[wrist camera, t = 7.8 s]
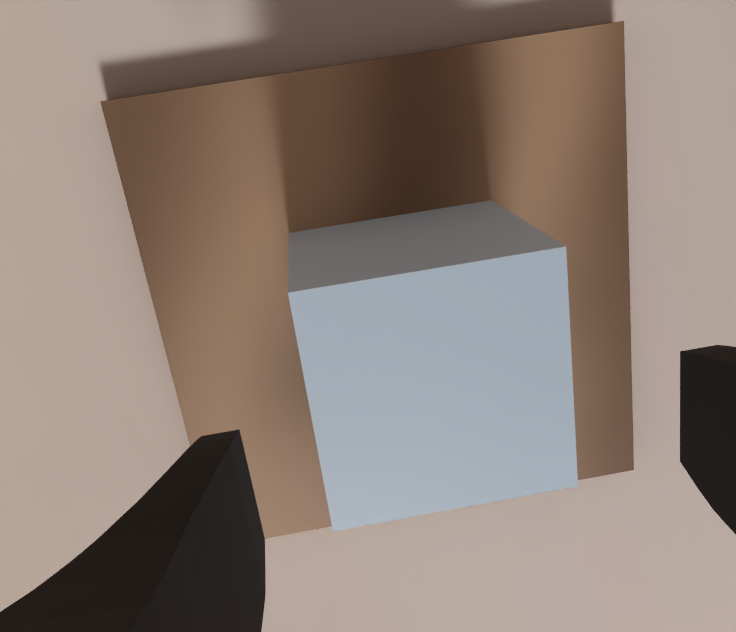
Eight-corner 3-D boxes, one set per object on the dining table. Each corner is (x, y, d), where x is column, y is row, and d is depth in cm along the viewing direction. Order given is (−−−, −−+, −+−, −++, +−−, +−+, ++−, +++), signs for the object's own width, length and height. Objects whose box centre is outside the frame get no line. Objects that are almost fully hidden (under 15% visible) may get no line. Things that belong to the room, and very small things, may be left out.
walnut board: (612, 22, 17) (623, 20, 16) (624, 458, 21) (633, 469, 20) (107, 100, 16) (100, 101, 16) (219, 534, 20) (216, 547, 20)
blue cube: (491, 200, 17) (566, 246, 13) (506, 384, 19) (578, 485, 14) (288, 233, 17) (288, 292, 12) (322, 416, 19) (332, 530, 14)
